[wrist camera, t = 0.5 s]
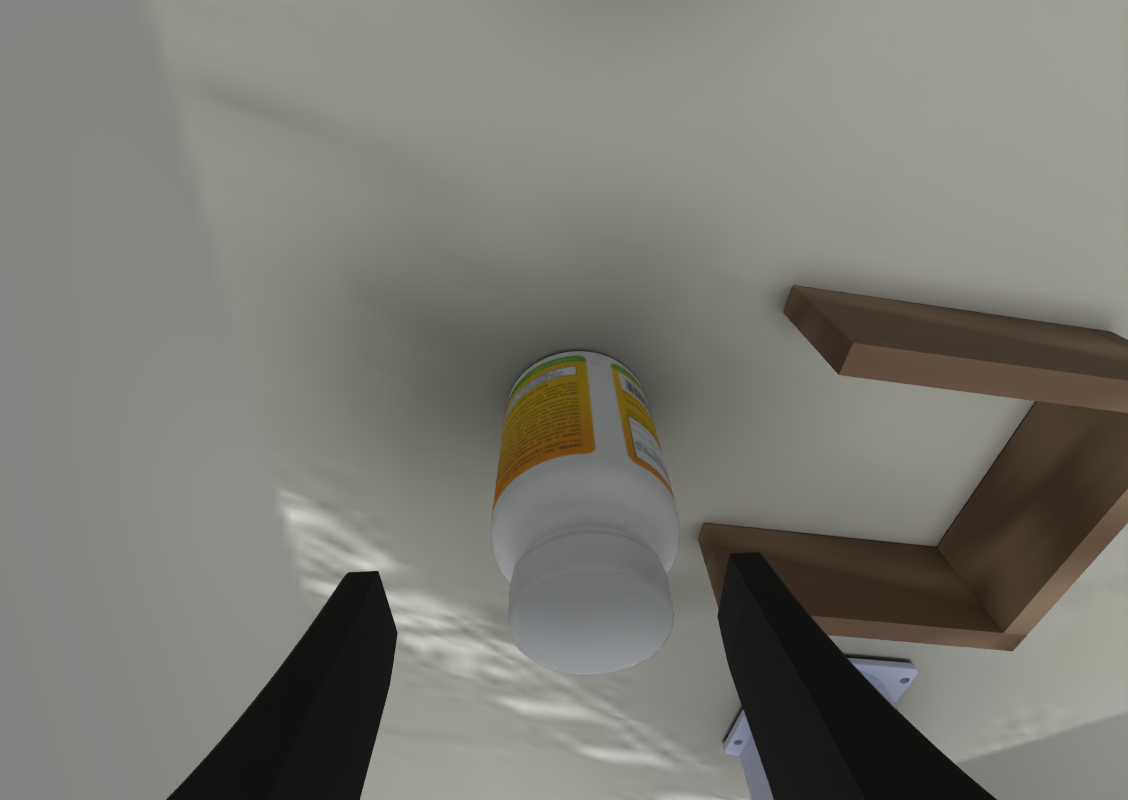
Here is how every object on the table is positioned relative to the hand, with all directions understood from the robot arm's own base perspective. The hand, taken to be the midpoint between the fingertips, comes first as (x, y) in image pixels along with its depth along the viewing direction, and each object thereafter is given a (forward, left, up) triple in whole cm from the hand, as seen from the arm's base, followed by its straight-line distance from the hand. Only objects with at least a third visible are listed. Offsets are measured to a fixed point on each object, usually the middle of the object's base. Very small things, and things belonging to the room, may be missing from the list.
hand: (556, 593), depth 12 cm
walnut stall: (-2, -14, -10) cm, 18 cm away
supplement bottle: (-2, -1, -11) cm, 11 cm away
